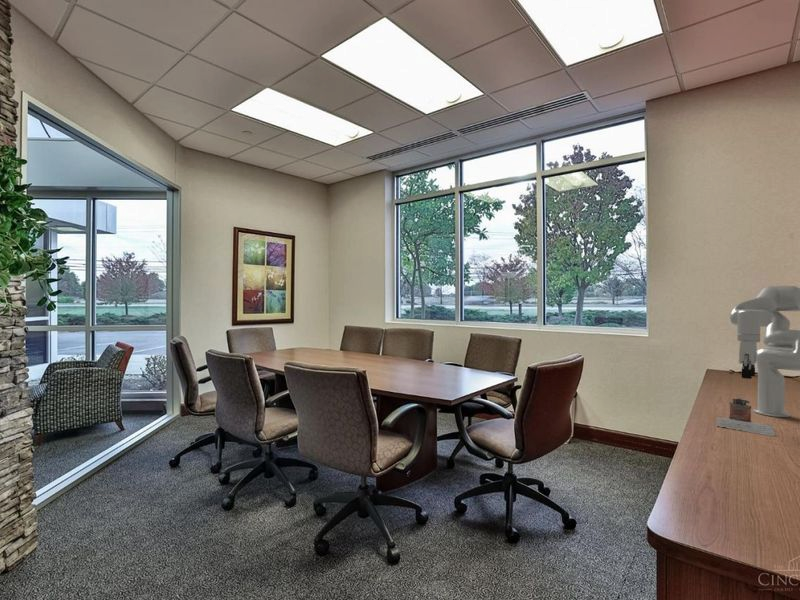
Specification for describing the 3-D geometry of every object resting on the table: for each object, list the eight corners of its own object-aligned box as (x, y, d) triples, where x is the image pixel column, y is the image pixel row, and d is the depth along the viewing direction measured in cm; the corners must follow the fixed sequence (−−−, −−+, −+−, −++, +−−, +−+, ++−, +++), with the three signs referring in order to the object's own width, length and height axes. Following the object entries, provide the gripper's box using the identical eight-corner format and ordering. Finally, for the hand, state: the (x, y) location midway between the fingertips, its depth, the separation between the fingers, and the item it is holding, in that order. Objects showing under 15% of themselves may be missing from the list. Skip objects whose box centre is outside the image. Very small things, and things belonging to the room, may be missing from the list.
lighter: (727, 418, 181) (727, 397, 181) (731, 418, 183) (731, 396, 183) (748, 423, 174) (749, 401, 174) (753, 422, 175) (753, 400, 175)
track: (717, 420, 178) (717, 416, 178) (771, 429, 167) (771, 424, 167) (716, 426, 169) (716, 422, 169) (774, 436, 157) (774, 431, 157)
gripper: (740, 336, 182) (740, 373, 182) (733, 338, 171) (733, 378, 171) (762, 337, 177) (762, 376, 177) (757, 339, 165) (757, 380, 165)
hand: (748, 377), depth 174 cm, fingers open, 9 cm apart
